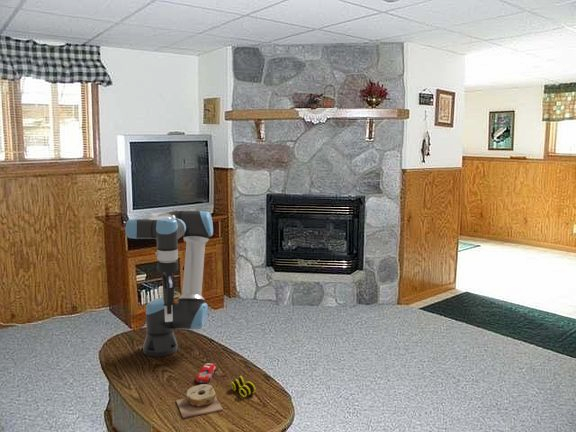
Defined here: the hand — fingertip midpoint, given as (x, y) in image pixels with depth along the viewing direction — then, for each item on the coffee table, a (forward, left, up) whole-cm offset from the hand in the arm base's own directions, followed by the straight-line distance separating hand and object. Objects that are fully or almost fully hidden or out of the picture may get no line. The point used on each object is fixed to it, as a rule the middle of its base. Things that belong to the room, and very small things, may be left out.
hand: (168, 321), depth 185 cm
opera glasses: (+14, +25, -27) cm, 39 cm away
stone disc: (+10, +7, -24) cm, 27 cm away
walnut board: (+18, +7, -26) cm, 33 cm away
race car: (-3, +15, -27) cm, 31 cm away
